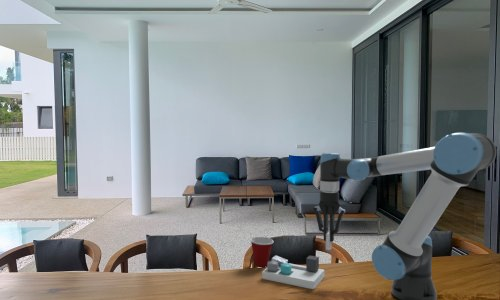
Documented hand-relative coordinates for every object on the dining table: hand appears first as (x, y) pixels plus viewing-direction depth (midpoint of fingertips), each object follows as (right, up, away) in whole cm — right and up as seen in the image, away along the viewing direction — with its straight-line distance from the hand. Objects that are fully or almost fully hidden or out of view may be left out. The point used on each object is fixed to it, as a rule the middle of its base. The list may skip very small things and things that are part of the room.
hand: (328, 249), depth 144 cm
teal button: (-17, -10, +2) cm, 20 cm away
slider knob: (-6, -10, +3) cm, 12 cm away
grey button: (-22, -10, +4) cm, 25 cm away
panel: (-14, -13, +4) cm, 19 cm away
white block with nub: (-19, -9, +11) cm, 23 cm away
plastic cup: (-26, -13, +18) cm, 34 cm away
